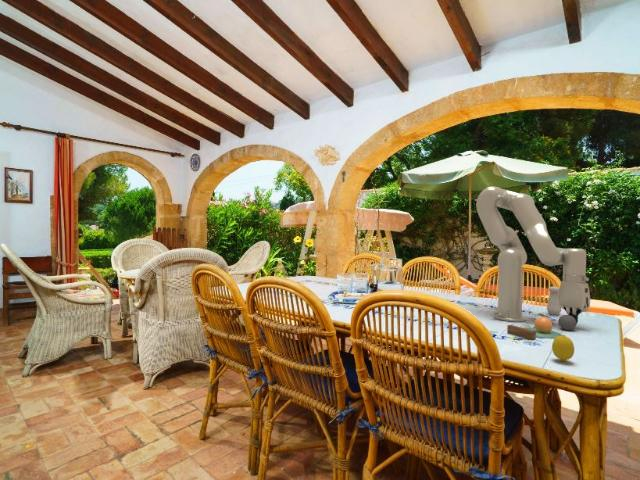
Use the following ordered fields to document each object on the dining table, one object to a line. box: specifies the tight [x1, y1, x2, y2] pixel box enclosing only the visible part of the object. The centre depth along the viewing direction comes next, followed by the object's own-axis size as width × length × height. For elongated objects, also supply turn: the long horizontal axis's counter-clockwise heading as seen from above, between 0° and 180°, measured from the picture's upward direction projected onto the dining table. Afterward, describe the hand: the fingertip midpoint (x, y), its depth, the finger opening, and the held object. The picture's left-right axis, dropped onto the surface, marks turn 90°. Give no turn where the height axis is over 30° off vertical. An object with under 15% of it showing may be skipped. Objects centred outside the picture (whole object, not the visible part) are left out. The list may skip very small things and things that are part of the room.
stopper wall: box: [506, 324, 537, 341], centre depth 136 cm, size 2×10×3 cm, turn 25°
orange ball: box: [534, 316, 554, 333], centre depth 141 cm, size 6×6×6 cm
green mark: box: [524, 327, 563, 339], centre depth 141 cm, size 14×14×1 cm
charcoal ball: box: [557, 314, 577, 331], centre depth 146 cm, size 6×6×6 cm
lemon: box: [551, 334, 575, 362], centre depth 110 cm, size 6×6×8 cm
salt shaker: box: [546, 286, 562, 316], centre depth 174 cm, size 6×6×13 cm
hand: (572, 324), depth 149 cm, fingers closed
